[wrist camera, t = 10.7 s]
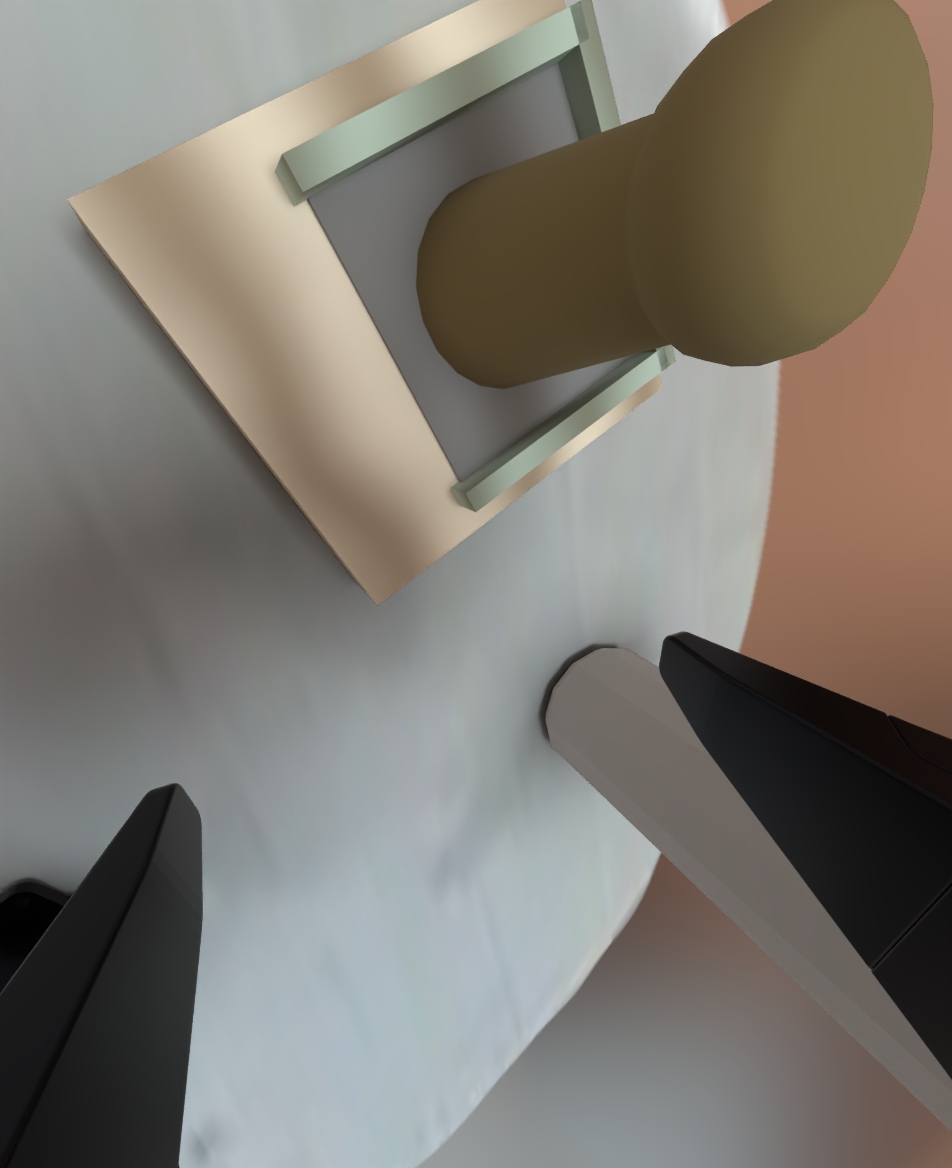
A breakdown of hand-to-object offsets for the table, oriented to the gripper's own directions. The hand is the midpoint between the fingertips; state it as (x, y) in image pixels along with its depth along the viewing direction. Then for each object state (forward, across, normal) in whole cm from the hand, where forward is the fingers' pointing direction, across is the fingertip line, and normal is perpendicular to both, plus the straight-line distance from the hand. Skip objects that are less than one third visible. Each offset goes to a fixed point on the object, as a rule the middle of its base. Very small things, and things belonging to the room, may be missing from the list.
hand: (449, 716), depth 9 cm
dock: (+14, -4, -4) cm, 15 cm away
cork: (+12, -6, -6) cm, 14 cm away
